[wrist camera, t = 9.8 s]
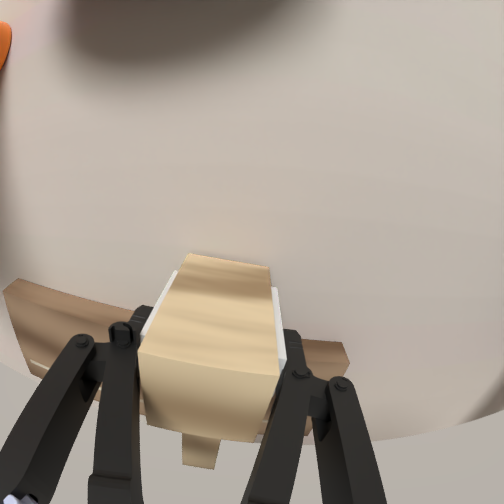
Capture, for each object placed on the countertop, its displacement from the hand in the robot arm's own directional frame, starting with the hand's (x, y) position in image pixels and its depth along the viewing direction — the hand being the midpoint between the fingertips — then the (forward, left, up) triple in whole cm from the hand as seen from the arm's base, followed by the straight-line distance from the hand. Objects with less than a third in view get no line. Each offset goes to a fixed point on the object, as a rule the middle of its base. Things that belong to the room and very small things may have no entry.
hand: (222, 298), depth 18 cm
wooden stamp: (+5, 0, 0) cm, 5 cm away
